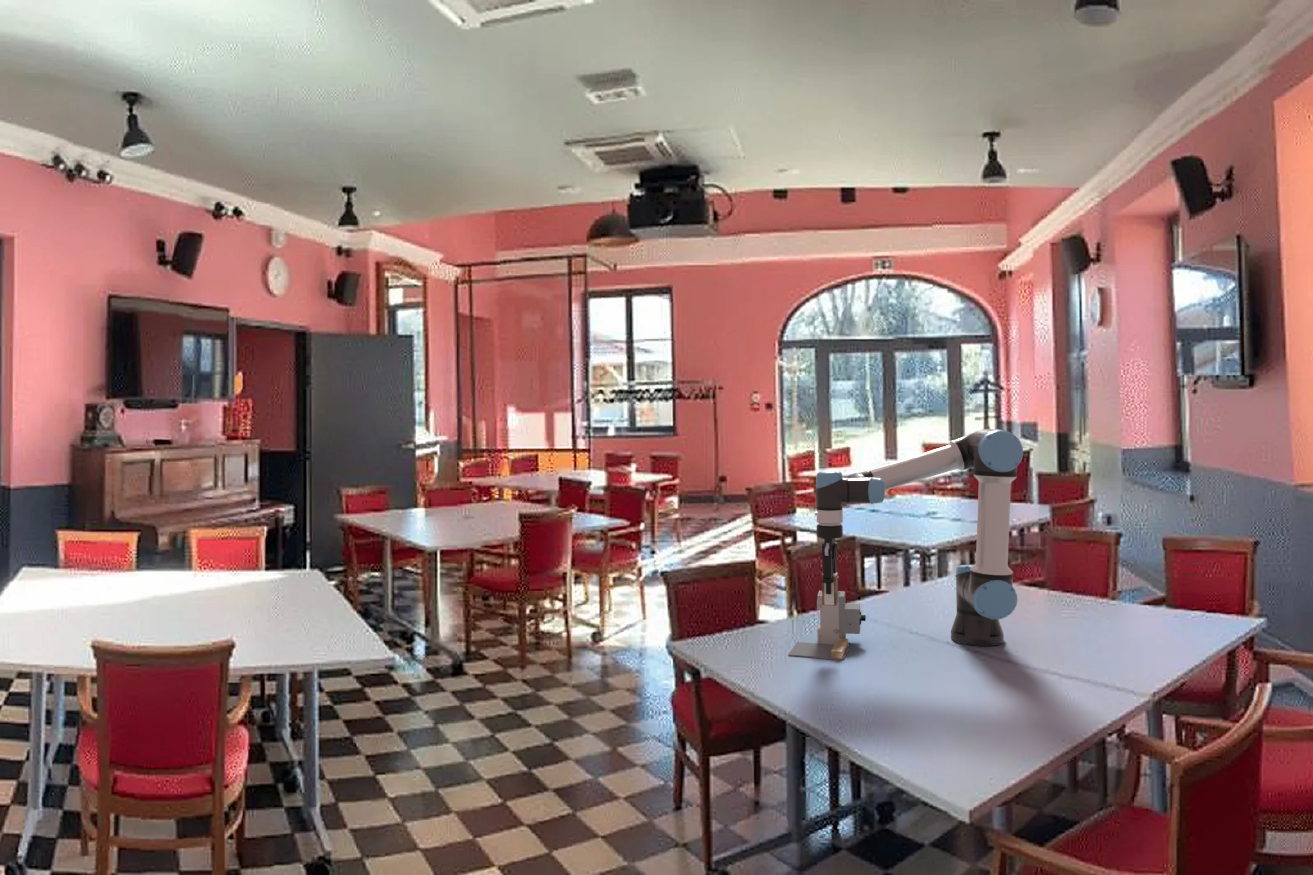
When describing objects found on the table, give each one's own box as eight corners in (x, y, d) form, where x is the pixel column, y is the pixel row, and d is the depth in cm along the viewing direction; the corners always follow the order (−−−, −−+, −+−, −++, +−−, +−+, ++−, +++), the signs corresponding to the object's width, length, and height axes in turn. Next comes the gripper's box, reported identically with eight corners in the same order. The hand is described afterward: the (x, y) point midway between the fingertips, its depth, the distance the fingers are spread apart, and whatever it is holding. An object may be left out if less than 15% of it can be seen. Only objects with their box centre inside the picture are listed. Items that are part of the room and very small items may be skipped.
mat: (849, 647, 254) (849, 645, 254) (843, 660, 241) (843, 658, 241) (797, 643, 259) (797, 641, 259) (788, 655, 246) (788, 654, 246)
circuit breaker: (865, 646, 254) (864, 597, 253) (817, 644, 258) (816, 595, 257) (866, 640, 261) (865, 591, 261) (819, 637, 265) (818, 590, 264)
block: (837, 603, 250) (837, 572, 249) (835, 605, 246) (835, 575, 246) (824, 602, 251) (824, 572, 251) (821, 604, 247) (821, 574, 247)
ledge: (848, 645, 254) (848, 639, 254) (841, 658, 241) (841, 651, 241) (838, 644, 255) (838, 638, 255) (831, 657, 242) (831, 650, 242)
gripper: (821, 519, 257) (822, 596, 258) (811, 527, 241) (812, 608, 242) (846, 520, 254) (847, 597, 255) (838, 528, 238) (839, 610, 239)
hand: (830, 602), depth 248 cm, fingers closed on block, 4 cm apart
